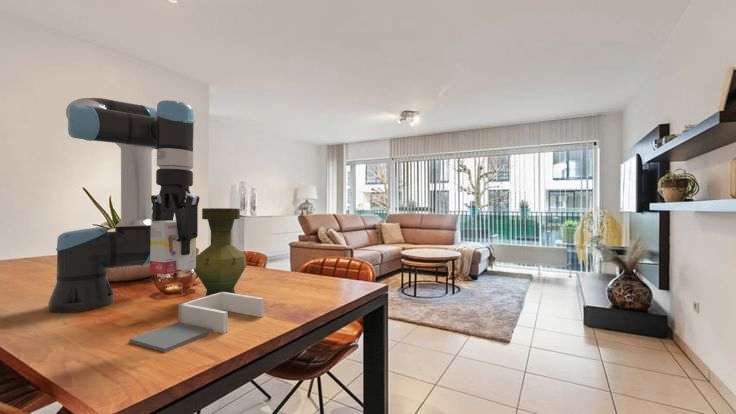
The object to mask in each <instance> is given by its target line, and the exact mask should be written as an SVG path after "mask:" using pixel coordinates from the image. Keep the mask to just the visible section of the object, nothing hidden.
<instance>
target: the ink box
mask: <svg viewBox="0 0 736 414" xmlns="http://www.w3.org/2000/svg"><path fill="white" fill-rule="evenodd" d="M184 235H185V234H184ZM177 239H179V236H178V230H177V223H176V219H173V220H168V221H153V222H151V246H150V264H149V273H151V274H159V275H164V276H165V275H170V274H176V273H179V272H184V271H189V270H194V269H195V268H196V256H197V238H194V239H192V240H191V241H190V254H189V268H186V269H181V270H176V240H177Z"/></svg>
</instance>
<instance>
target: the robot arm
mask: <svg viewBox="0 0 736 414" xmlns="http://www.w3.org/2000/svg"><path fill="white" fill-rule="evenodd" d="M65 116H66V118H67V130H68V131H67V132H68V135H69V136H70V138H73V139H78V140H84V141H87V142H88V141H90V142H91V141H93V142H102V143H114V144H115V145H117V146H118V147H119V149H120V221H118V223H117V224H115V225H114V231H109V230H108V229H107V227H101V226H100V227H92V228H83V229H76V230H72V231H65V232H62V233H61V234H60V235H58V237H57V242H56V249H55V251H56V252H57V253H56V284H55V286H54V288H53V291H52V293H51V296H50V297H49V301H48V305H47V306H48V309H47V311H48V312H50V313H54V314H55V313H56V314H57V313H58V314H59V313H60V314H61V313H63V314H65V313H77V312H84V311H89V310H94V309H99V308H103V307H106V306H108V305H111V304H112V303H114V296H115V295H114V292H113V289H112V286H111V284H110V283H109V280H108V274H107V273H108V269H115V268H116V269H118V268H125V267H127V268H128V267H136V266H137V267H138V266H140V267H141V266H142V267H144V266H146V265H150V246H151V222H153V221H168V220H174V217H175V220H176V223H177V230H178V236H179V239H177V240H176V270H181V269H186V268H189V254H190V241H191V240H192V239H194V238H196V239H197V238H198V235H199V234H198V232H199V231H198V229H199V228H198V223H199V221H198V220H199V218H198V216H199V213H198V212H199V211H198V209H199V203H200V196H199V195H193V194H191V191H190V187H193V185H194V172H193V171H192V169H194V128H195V127H194V123H195V119H194V118H195V117H194V108H193V107H192V106H191V105H190V104H188V103H185V102H182V101H176V100H161V101H159V102H158V103H157V105H156V108H154V107H150V106H146V105H143V104H135V103H129V102H124V101H118V100H114V99H113V100H112V99H108V98H101V97H86V98H85V97H83V98H78V99H75V100H73V101H71V102H70V103H69V104H68V105H67V107H66V109H65ZM153 150H156V166H157V170H156V172H155V183H156V185H157V186H160V190H159V194H156V195H155V194H154V195H153V193H152V192H153V187H152V186H153V182H152V181H153V179H152V178H153V173H152V172H153V170H152V169H153V163H152V159H153V158H152V156H153V155H152V154H153V153H152V151H153ZM184 234H185V235H184Z"/></svg>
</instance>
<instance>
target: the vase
mask: <svg viewBox="0 0 736 414" xmlns="http://www.w3.org/2000/svg"><path fill="white" fill-rule="evenodd" d="M240 211H241V209H240V208H229V207H228V208H227V207H226V208H224V207H220V208H219V207H217V208H215V207H211V208H210V207H208V208H207V207H205V208H202V209H201V220H207V222H208V226H209V230H210V245H209V246H207V247H206V248H205V249H204V250H202V251H201V252H200V253H199V254H198V255H197V254H196V268H195V269H193V271H194V273H195V274H196V276H197V277H198V278H199V280H200V282H201V284H202V285H203V287H204V288H205V290H206V291H205V296H204V297H206V296H209V295H213V294H216V293H220V292H227V293H234V294H236V291H235V286H236V285H237V283H238V282H239V280H240V278H241V276H242V275H243V273H244V271H245V269H246V268H247V266H248V262H247V255H246V254H245V253H244V252H243V251H241V250H240V249H238V248H237V247H236V246H234V245H233V244H232V230H233V226H234V223H235V220H240V219H241V217H240V216H241V214H240V213H241V212H240Z"/></svg>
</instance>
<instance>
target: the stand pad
mask: <svg viewBox="0 0 736 414" xmlns="http://www.w3.org/2000/svg"><path fill="white" fill-rule="evenodd" d="M212 333H213V331H212V329H208V328H203V327H198V326H194V325H189V324H185V323H180V322H178V321H177V322H174V323H172V324H169V325H165V326H163V327H159V328H158V329H154V330H150V331H149V332H145V333H143V334H140V335H137V336H134V337H132V338H129V343H130V344H134V345H137V346H142V347H144V348H148V349H152V350H156V351H158V352H163V353H167V352H169V351H172V350H174V349H177V348H179V347H181V346H183V345H186V344H190V342H191V343H192V342H194V341H196V340H198V339H201V338H203V337H206V336H208V335H210V334H212Z"/></svg>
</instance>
